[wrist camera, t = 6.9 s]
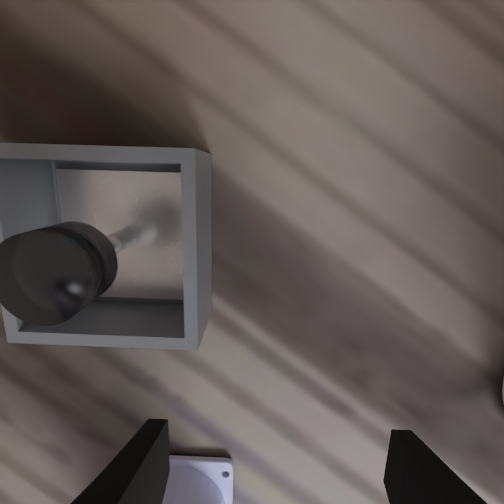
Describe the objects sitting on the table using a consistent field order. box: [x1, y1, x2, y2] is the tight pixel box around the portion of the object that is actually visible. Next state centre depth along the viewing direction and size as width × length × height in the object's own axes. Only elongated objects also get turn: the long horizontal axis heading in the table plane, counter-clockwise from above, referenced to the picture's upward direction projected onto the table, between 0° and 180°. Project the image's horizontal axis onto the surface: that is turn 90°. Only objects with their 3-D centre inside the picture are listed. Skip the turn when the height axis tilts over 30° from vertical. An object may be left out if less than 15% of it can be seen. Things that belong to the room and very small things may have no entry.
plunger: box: [0, 169, 184, 326], centre depth 14 cm, size 7×7×8 cm
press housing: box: [0, 143, 212, 351], centre depth 16 cm, size 9×9×4 cm
